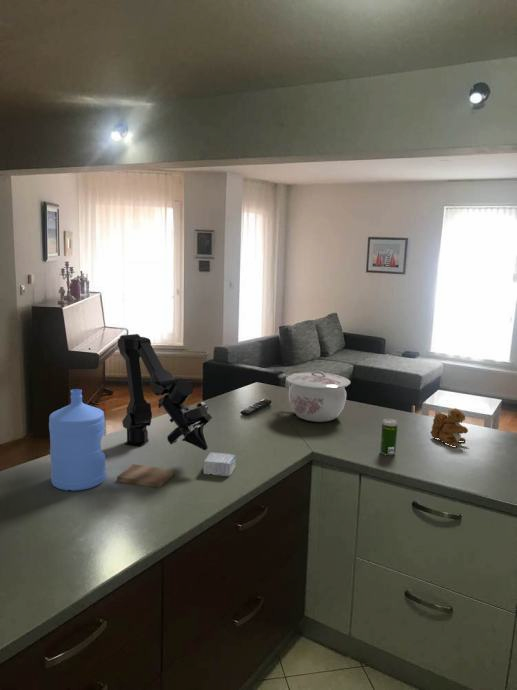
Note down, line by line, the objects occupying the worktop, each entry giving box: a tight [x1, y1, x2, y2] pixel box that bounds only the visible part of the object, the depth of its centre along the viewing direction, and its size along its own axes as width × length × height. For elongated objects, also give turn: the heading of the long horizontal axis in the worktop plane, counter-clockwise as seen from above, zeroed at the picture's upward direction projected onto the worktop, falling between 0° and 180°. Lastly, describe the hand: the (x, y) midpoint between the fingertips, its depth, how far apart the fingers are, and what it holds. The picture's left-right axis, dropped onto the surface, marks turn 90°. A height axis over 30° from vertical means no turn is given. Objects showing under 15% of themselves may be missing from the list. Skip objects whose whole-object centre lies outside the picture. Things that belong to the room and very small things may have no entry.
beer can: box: [379, 418, 399, 456], centre depth 186 cm, size 5×5×12 cm
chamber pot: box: [285, 370, 351, 423], centre depth 225 cm, size 28×28×21 cm
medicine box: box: [202, 451, 236, 477], centre depth 168 cm, size 8×4×9 cm
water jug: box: [48, 388, 107, 492], centre depth 156 cm, size 16×16×28 cm
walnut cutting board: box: [116, 463, 175, 489], centre depth 161 cm, size 14×10×2 cm
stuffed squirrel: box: [430, 407, 469, 447], centre depth 200 cm, size 10×14×13 cm
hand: (206, 449), depth 166 cm, fingers closed
